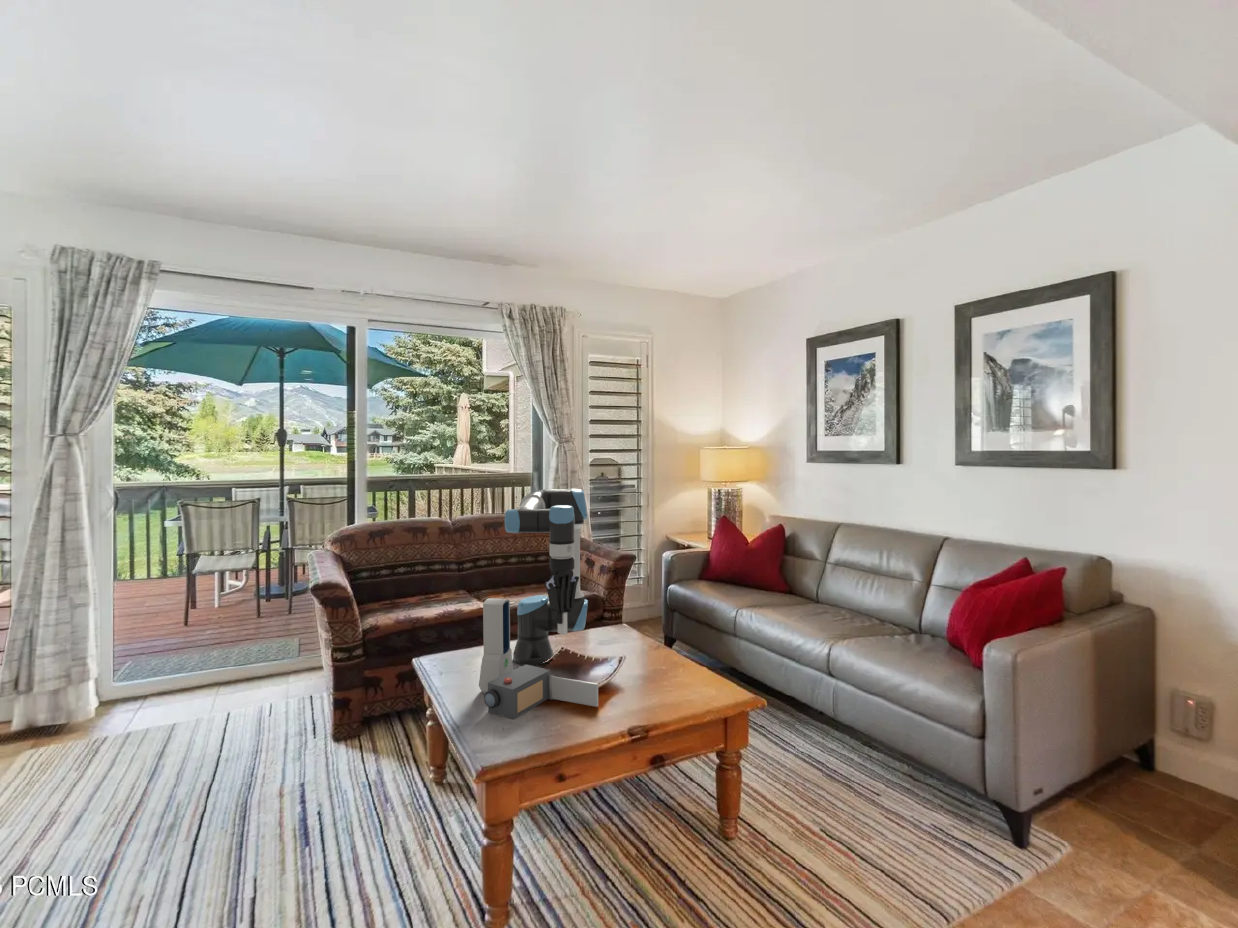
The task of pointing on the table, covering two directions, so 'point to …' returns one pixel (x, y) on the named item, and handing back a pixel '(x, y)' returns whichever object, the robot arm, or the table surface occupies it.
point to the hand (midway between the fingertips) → (562, 633)
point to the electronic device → (495, 641)
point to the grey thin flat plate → (573, 691)
